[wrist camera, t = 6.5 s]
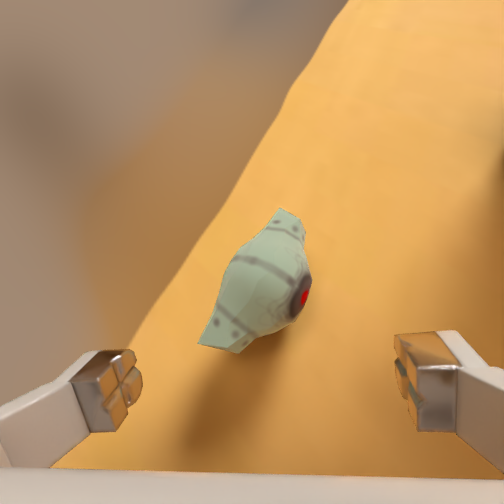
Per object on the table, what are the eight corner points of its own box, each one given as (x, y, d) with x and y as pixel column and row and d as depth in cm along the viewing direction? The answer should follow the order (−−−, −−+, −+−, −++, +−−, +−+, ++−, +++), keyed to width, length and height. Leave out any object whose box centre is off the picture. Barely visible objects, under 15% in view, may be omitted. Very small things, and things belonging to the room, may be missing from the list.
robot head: (279, 245, 20) (261, 177, 15) (338, 268, 19) (343, 202, 13) (217, 354, 18) (165, 324, 12) (278, 391, 16) (251, 378, 10)
